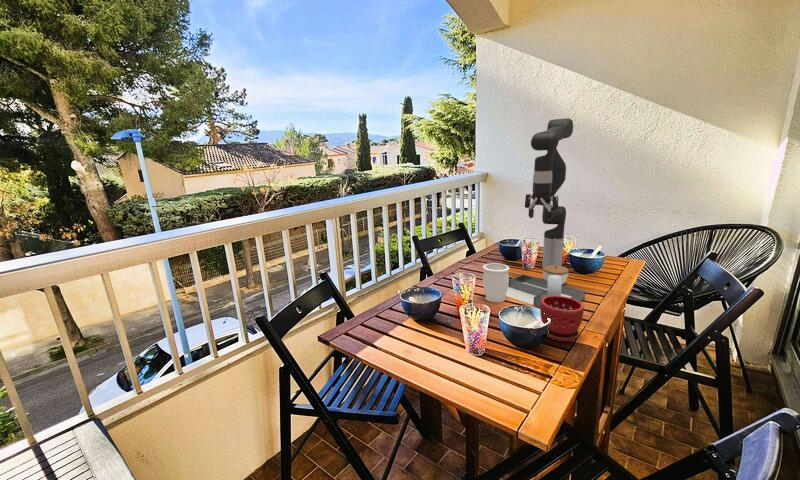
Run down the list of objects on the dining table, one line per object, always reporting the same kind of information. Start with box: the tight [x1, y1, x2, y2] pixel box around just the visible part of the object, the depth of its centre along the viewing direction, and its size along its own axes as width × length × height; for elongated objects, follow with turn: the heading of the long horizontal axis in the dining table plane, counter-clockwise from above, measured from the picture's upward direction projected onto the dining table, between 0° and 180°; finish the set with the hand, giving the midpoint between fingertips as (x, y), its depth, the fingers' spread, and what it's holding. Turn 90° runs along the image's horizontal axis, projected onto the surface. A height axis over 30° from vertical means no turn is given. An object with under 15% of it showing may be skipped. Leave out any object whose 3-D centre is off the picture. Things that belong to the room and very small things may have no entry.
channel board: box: [505, 282, 584, 308], centre depth 146 cm, size 20×29×1 cm
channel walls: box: [508, 273, 586, 310], centre depth 146 cm, size 20×29×4 cm
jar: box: [482, 262, 510, 303], centre depth 144 cm, size 11×10×15 cm
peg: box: [547, 275, 563, 303], centre depth 135 cm, size 5×5×12 cm
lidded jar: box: [542, 265, 569, 285], centre depth 159 cm, size 11×11×9 cm
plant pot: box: [539, 296, 585, 342], centre depth 116 cm, size 13×13×12 cm
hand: (540, 218), depth 150 cm, fingers open, 8 cm apart
